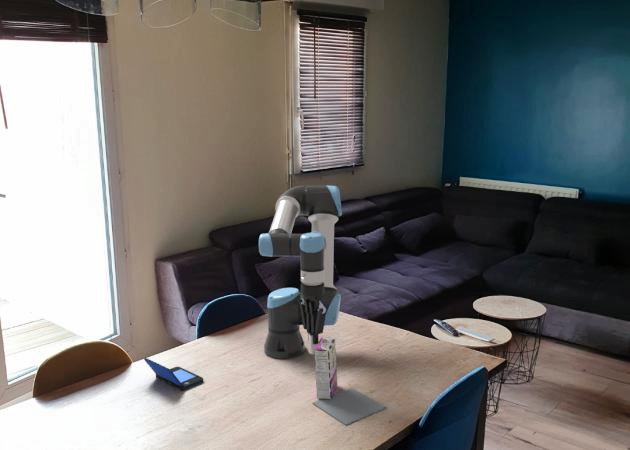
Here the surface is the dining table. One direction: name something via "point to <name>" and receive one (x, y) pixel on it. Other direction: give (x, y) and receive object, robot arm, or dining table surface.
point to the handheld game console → (175, 375)
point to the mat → (349, 406)
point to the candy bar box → (325, 368)
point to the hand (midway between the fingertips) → (313, 352)
